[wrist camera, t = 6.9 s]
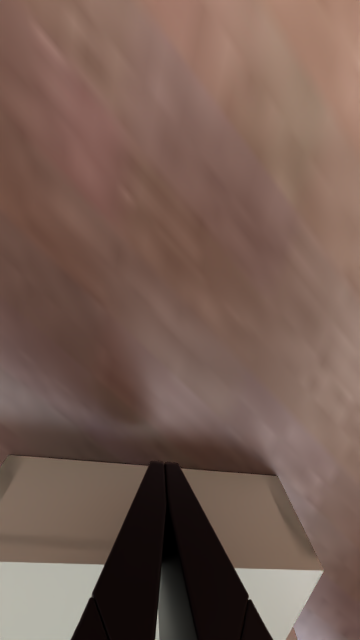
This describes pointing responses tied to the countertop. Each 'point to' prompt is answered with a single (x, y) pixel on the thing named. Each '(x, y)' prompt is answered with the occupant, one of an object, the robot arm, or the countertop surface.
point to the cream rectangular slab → (102, 530)
